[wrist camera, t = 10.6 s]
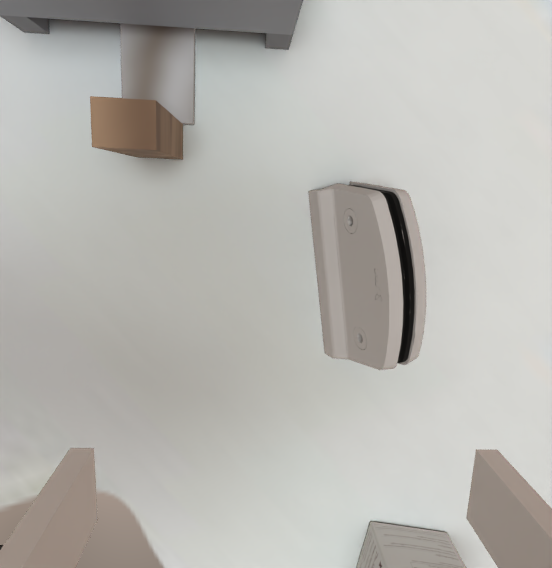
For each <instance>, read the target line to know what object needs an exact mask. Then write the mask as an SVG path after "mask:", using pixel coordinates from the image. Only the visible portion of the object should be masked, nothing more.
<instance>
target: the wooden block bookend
mask: <svg viewBox="0 0 552 568" xmlns="http://www.w3.org/2000/svg"><path fill="white" fill-rule="evenodd" d="M120 38H121V81H122V98H109V97H92V96H90V104H91V130H92V147H95V148H99V149H104V150H108V151H112V152H117V153H121V154H126V155H130V156H134V157H144V158H164V159H183V124H189V125H194V107H195V28H182V27H167V26H152V25H137V24H123V23H120Z"/></svg>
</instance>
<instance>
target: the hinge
mask: <svg viewBox="0 0 552 568" xmlns="http://www.w3.org/2000/svg"><path fill="white" fill-rule="evenodd" d="M308 193H309V203H310V213H311V223H312V232H313V242H314V252H315V262H316V272H317V282H318V292H319V302H320V311H321V321H322V331H323V341H324V351H325V354H327V355H328V356H330V357H332V358H336V359H349V360H352V361H355V362H358V363H361V364H364V365H367V366H370V367H373V368H375V369H378V370H384V369H393V368H395V367H396V365H397V363H399V364H402V365H406V364H408V363H410V362H411V361H413V360H414V359H416V358H417V357H418V356H419V352H420V348H421V344H422V339H423V333H424V325H425V314H426V276H425V264H424V256H423V249H422V242H421V237H420V232H419V227H418V223H417V219H416V215H415V211H414V208H413V205H412V201H411V198H410V196H409V194H408V193H407V192H406V191H405V190H400V189H394V188H388V187H382V186H376V185H370V184H364V183H356V182H350V185H344V184H338V183H337V184H335V185H332V186H329V187H326V188H323V189H318V190H311V191H308Z"/></svg>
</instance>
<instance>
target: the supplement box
mask: <svg viewBox="0 0 552 568" xmlns="http://www.w3.org/2000/svg"><path fill="white" fill-rule="evenodd" d="M357 568H466V566H465V564H464V563H463V561H462V559H461V557H460V555H459V554H458V552H457V550H456V548H455V546H454V545H453V543H452V541H451V539H450V537H449V536H448V534H447V533H446V532H439V531H433V530H426V529H419V528H412V527H405V526H398V525H392V524H385V523H378V522H370V525H369V528H368V532H367V535H366V538H365V542H364V545H363V548H362V551H361V555H360V558H359V561H358V565H357Z"/></svg>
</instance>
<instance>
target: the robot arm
mask: <svg viewBox="0 0 552 568" xmlns="http://www.w3.org/2000/svg"><path fill="white" fill-rule="evenodd" d="M97 518H98V517H97V499H96V480H95V461H94V448H70V449H69V451H68V452H67V454H66V455H65V457H64V458H63V460H62V461H61V463H60V464H59V465H58V467H57V468H56V470H55V471H54V473H53V474H52V476H51V477H50V479H49V480H48V481H47V483H46V484H45V486H44V487H43V489H42V490H41V492H40V493H39V495H38V496H37V497H36V499H35V500H34V502H33V503H32V505H31V506H30V508H29V509H28V511H27V512H26V513H25V515H24V516H23V518H22V519H21V521H20V522H19V524H18V525H17V527H16V528H15V529H14V531H13V532H12V534H11V535H10V537H9V538H8V540H7V541H6V543H5V544H4V545H0V568H76V566H77V564H78V562H79V559H80V557H81V555H82V553H83V551H84V548H85V546H86V544H87V542H88V540H89V537H90V535H91V533H92V531H93V529H94V527H95V525H96V522H97V520H98V519H97ZM467 520H468V521H469V523H470V524H471V526H472V528H473V529H474V531H475V532H476V534H477V535H478V537H479V538H480V540H481V542H482V543H483V545H484V546H485V548H486V549H487V551H488V552H489V554H490V556H491V557H492V559H493V560H494V562H495V563H496V565H497V567H498V568H552V509H551V507H550V506H549V505H548V504H547V503H546V502H545V501H544V500H543V499H542V498H541V497H540V495H539V494H538V493H537V492H536V491H535V490H534V489H533V488H532V487H531V486H530V485H529V484H528V482H527V481H526V480H525V479H524V478H523V477H522V476H521V475H520V474H519V473H518V472H517V471H516V469H515V468H514V467H513V466H512V465H511V464H510V463H509V462H508V461H507V460H506V459H505V458H504V456H503V455H502V454H501V453H500V452H499V451H498V450H476V454H475V461H474V468H473V475H472V482H471V489H470V496H469V503H468V510H467Z"/></svg>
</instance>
